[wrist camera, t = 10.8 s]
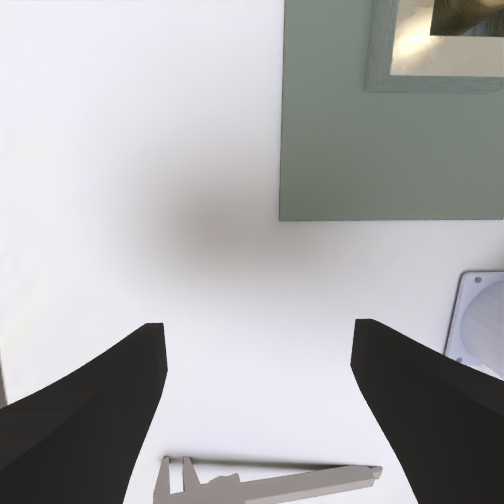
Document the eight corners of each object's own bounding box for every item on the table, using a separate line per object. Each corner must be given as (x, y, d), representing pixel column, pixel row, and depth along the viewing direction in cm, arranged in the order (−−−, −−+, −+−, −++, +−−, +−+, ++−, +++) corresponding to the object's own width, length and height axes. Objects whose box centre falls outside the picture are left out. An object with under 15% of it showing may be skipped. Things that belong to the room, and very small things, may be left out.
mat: (575, -105, 16) (584, -113, 15) (498, 218, 20) (503, 219, 20) (288, -117, 15) (289, -125, 15) (278, 220, 20) (279, 220, 19)
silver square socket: (521, -67, 16) (590, -126, 12) (488, 94, 18) (540, 77, 15) (379, -72, 15) (414, -135, 12) (363, 92, 17) (389, 75, 14)
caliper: (163, 461, 26) (140, 550, 20) (164, 452, 25) (140, 539, 19) (377, 471, 27) (417, 557, 21) (380, 462, 27) (421, 547, 21)
